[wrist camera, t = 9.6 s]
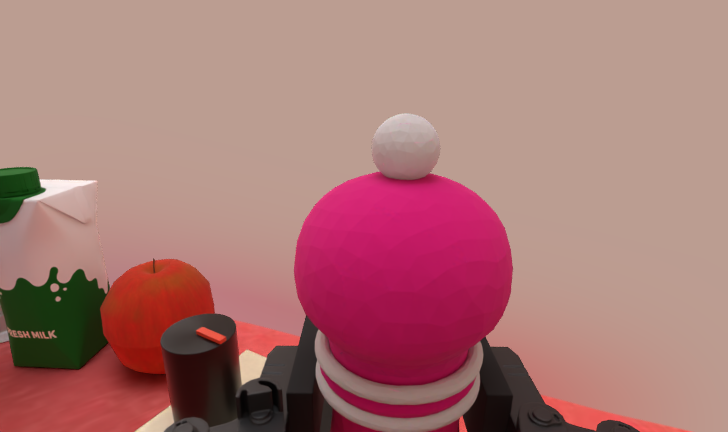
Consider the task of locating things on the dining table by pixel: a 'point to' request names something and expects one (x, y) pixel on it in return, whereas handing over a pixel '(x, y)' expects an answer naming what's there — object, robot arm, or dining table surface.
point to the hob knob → (202, 368)
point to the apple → (151, 309)
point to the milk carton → (50, 269)
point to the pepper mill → (402, 288)
